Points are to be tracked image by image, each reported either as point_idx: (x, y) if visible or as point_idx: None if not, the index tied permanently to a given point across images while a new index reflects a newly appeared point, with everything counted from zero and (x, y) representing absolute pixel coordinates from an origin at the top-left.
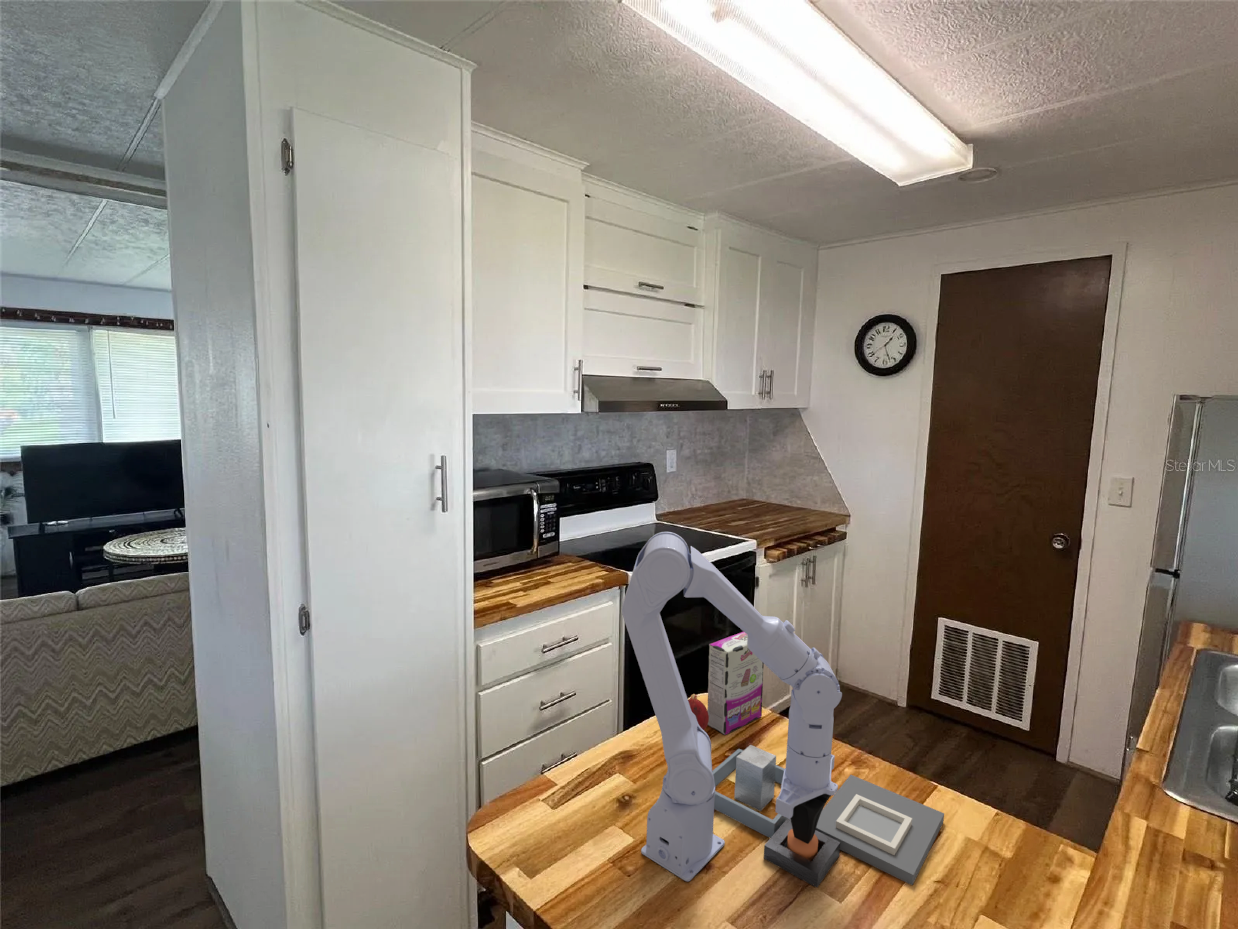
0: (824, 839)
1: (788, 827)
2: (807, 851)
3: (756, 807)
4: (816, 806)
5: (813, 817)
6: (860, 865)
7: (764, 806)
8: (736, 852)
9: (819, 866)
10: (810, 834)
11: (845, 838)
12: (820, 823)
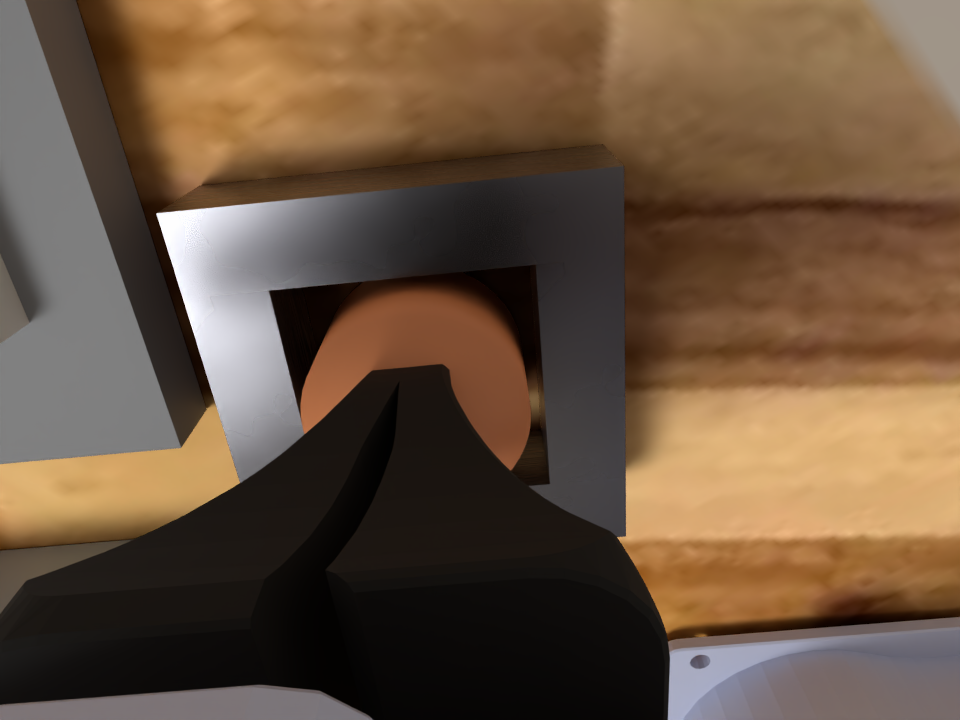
0: (243, 313)
1: None
2: (493, 332)
3: None
4: (579, 625)
5: (555, 505)
6: (142, 20)
7: None
8: (665, 580)
9: (539, 198)
10: (454, 397)
11: (59, 213)
12: (100, 412)
